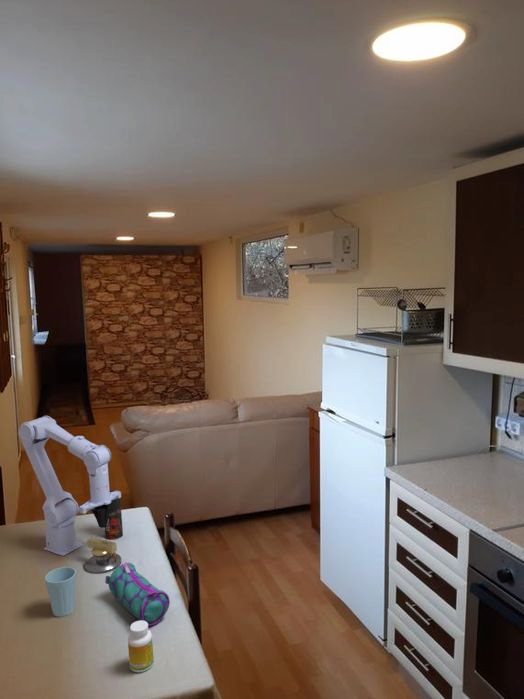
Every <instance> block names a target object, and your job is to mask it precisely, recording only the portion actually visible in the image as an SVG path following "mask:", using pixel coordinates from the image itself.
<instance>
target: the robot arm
mask: <svg viewBox="0 0 524 699" xmlns="http://www.w3.org/2000/svg"><path fill="white" fill-rule="evenodd" d="M17 432H18V433H17V435H18V437H19V438H20V439H19V440H20V442H21V443H22V445H23V448H24V450H25V453H26V455H27V457H28V460H29V462H30V463H31V467H32V469H33V471H34V473H35V476H36V477H37V480H38V482H39V485H40V487H41V489H42V492H43V493H44V495H45V502H44V503H43V505H42V510H43V514H44V520H45V522H46V525H45V528H44V533H45V545H46V546H45V547H44V550H46V551H48V552H52V553H54V554H57V555H59V556H63V557H65V555H67V554H70V553H71V552H73V551H75V550H78V549H79V548H81V547H82V546H83V543H81V542H78V541H77V537H76V535H77V534H76V525H75V524H76V523H75V520H77V519H76V518H77V515H78V514H79V513H80V514H83V515H85V514H87V512H89V511H91V513H92V514H93V516H94V517H95V520H96V522H97V525H98V528H101V529H105V527H106V525H107V520H108V516H109V513H110V511H111V509H112V507H113V506H112V504H111V501H112V500H114V499H116V498H120V499H121V498H122V492H121V491H119V490H113V491H114V492H111V493H110V491H111V490H110V480H109V462H110V461H111V460H112V452H111V450H110V448H108V447H107V446H106V445H104V444H100V445H98V444H96V443H93V442H91V441H89V440H88V439H86V438H85V436H83V435H77V436H74V435H72V434H71V433H69V432H68V431H67V430H65V429H64V428H62V427H61V426H60V425H58V424H57V421H56V420H55V419H54V418H52V417H51V416H48V415H43V416H42V417H38V418H36V419H33V420H29V421H24V422H22V423H21V424H20V426H19V430H18V431H17ZM49 439H51V440H54V441H56V442H57V443H60V444H61V445H64V446H66V447H67V451H68V452H69V453H70V454H72V455H74V456H76V457H77V458H79V459H81V460H82V461H83V464H84V465H85V467H86V469H87V470H86V471H87V474H88V480H89V491H90V499H89V500H87V501H86V502H85V503H84V504H82V505H80V506H79V504H78V502H77V501H76V500H75V499H74V498H73V495H72V493H70V492H67V491H65V490H63V487H62V485H61V483H60V482H59V479H58V477H57V475H56V472H55V470H54V468H53V465H52V463H51V461H50V458H49V457H48V454H47V451H46V450H45V445H46V443H47V442H48V441H49Z"/></svg>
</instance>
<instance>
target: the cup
mask: <svg viewBox="0 0 524 699" xmlns="http://www.w3.org/2000/svg"><path fill="white" fill-rule="evenodd" d="M76 576H77V570H76V569H75V568H73V567H70V566H63V567H62V566H61V567H56V568H55V569H52V570H51V571H49V572H48V573H47V574H46V575H45V577H44V580H45V584H46V588H47V589H46V590H47V592H48V597H49V602H50V606H51V611H52V615H53V616H54V617H57V618H62V617H67V616H69V615H71V614H72V613H73V612H74V611H75V608H76V579H77V577H76Z"/></svg>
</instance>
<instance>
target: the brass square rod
mask: <svg viewBox="0 0 524 699" xmlns="http://www.w3.org/2000/svg"><path fill="white" fill-rule="evenodd" d="M86 542H87V544H86V546H87V548H89V549H91V554H92V556H94V557H104V556H107V555H112V554H113V553H114V552H115V551H116V552H117V551H118V550H117V549H118V548H117V542H114V541H112V540H108V539H106V540H105V539H102V538H98V537H94V536H90V537H89V538H87V539H86Z"/></svg>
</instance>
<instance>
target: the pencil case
mask: <svg viewBox="0 0 524 699" xmlns="http://www.w3.org/2000/svg"><path fill="white" fill-rule="evenodd" d="M104 580H105V581H104V582H105V584H107V585H108V588H109V591H110V592H111V594H112V595H113V596H114V598H115V599H116V600H117V601H118V602H119V603H120V604H121V605H122V606H124V607H125V609H126V610H127V611H128V612H130V613H131V614H132V615H133V616H135V618H137V620H138V621H140V620H142V621H146V622H147V623H148V627H153V626H156V625H157V624H159V623H160V621H161V620H162V619H163V617H165V615H166V613H167V612H168V610H169V607H170V604H171V603H170V597H169V594H168V593H167V592H165V591H164V590H161V589H160V590H159V589H158V587H156V586H154V585H153V584H152V583H151V582H150V581H149V579H147V578H146V577H144V576H143V575H142V574H140V573H139V572H138V571H137V570H136V566H135V565H134V564H133V563H131V562H124V563H121V564H120V566H119V567H117V568H116V569H114V570H112V571H111V574H110V576H109V575H108V576H107V575H106V576H105V579H104Z"/></svg>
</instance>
